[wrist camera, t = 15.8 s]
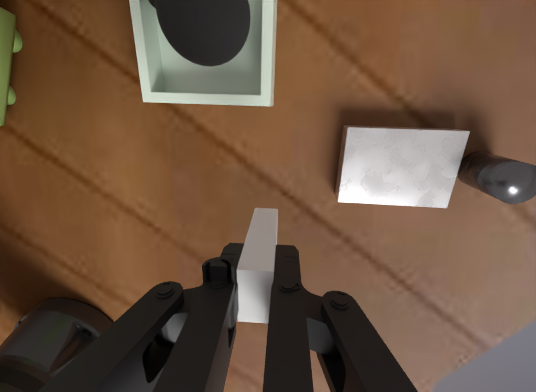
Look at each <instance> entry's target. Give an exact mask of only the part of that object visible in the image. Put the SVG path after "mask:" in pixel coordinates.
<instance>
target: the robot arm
mask: <svg viewBox="0 0 536 392" xmlns="http://www.w3.org/2000/svg"><path fill="white" fill-rule="evenodd" d="M277 223H278V209H270V208H255V210H254V213H253V217H252V220H251V223H250V227H249V230H248V233H247V237H246V240H245V243H244V244H240V243H229V244H228V245H227V246H226V247H224V249H223V251H222V253H221V256H220V257H215V258H212V259H209V260H207V261H206V262H205V263H204V264H203V265H202V271H203V284H202V285H201V286H199V287H195V288H191V289H185V290H183V287H182V286H181V284H179V283H177V282H172V281H169V282H163V283H160V284H158V285H156V286H155V287H153V288H152V289H150V290H149V291H148V292H147V293H146V294H145V295H144V296H143V297H142V298H141V299H139V300H138V301H137V302H136V303H135V304H134V305H133V306H132V307H131V308H130V309H128V310H127V311H126V312H125V313H124V314H123V315H122V316H121V317H120V318H118V319H117V320H116V321H115V322H114V323H113V322H112V321H111V320H110V319H109V318H107V317H106V316H105V315H104V314H102V313H101V312H100V311H98V310H96V309H95V308H93V307H91V306H89V305H87V304H85V303H82V302H79V301H76V300H72V299H66V298H53V299H48V300H45V301H42V302H40V303H39V304H37V305H36V306H35V307H34V308H32V309H31V310H30V311H29V312H27V313H26V314H25V315H24V316H23V317H22V318H21V319H20V320H19V321H18V323H17V324H16V326H15V328H14V331H13V332H12V333H11V334H10V335H9V336H8V337H7V338H6V340H5V341H4V342H3V343H2V344H1V346H0V392H223V390H224V385H225V381H226V376H227V371H228V367H229V362H230V357H231V353H232V348H233V344H234V339H235V334H236V320H237V315H238V321H241V322H255V323H268V334H267V346H266V358H265V370H264V383H263V392H314V391H313V380H312V370H311V360H310V350H313V351H316V353H317V357H318V360H319V362H320V365H321V368H322V370H323V373H324V375H325V378H326V381H327V383H328V386H329V389H330V391H331V392H418V391H417V390H416V388H415V387H414V385H413V384H412V382H411V381H410V379H409V378H408V377H407V375H406V374H405V372H404V371H403V369H402V368H401V366H400V365H399V363H398V362H397V360H396V359H395V358H394V356H393V355H392V353H391V352H390V350H389V349H388V347H387V346H386V344H385V343H384V341H383V340H382V339H381V337H380V336H379V334H378V333H377V331H376V330H375V328H374V327H373V325H372V324H371V322H370V321H369V320H368V318H367V317H366V315H365V314H364V312H363V311H362V309H361V308H360V306H359V305H358V303H357V302H356V301H355V300H354V299H353V297H352V296H350V295H348V294H347V293H344V292H341V291H330V292H327V293H325V294H324V295H323V297H321V296H318V295H315V294H312V293H310V292H309V291H307V290H306V289H305V288H304V287H303V285H302V283H301V274H300V263H299V252H298V250H297V249H296V247H295V246H291V245H277Z"/></svg>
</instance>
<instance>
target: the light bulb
mask: <svg viewBox="0 0 536 392" xmlns="http://www.w3.org/2000/svg"><path fill="white" fill-rule="evenodd" d="M148 1H149V3H150V4H151V5H152V6H153V7H154V8H155V9H156V14H157V18H158V22H159V25H160V27H161V30H162V32H163V34H164V36H165V37H166V39H167V41H168V42H169V44H170V45H171V46H172V47H173V49H174V50H175V51H176V52H177V53H178V54H180V55H181V56H182V57H183V58H185V59H187V60H189V61H190V62H192V63H195V64H198V65H201V66H210V67H212V66H218V65H222V64H224V63H227V62H229V61H230V60H232V59H233V58H234V57H235V56H236V55H237V54H238V53H239V52H240V51H241V49H242V48H243V46H244V44H245V42H246V40H247V37H248V34H249V29H250V20H251V16H250V5H249V1H248V0H148Z"/></svg>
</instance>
